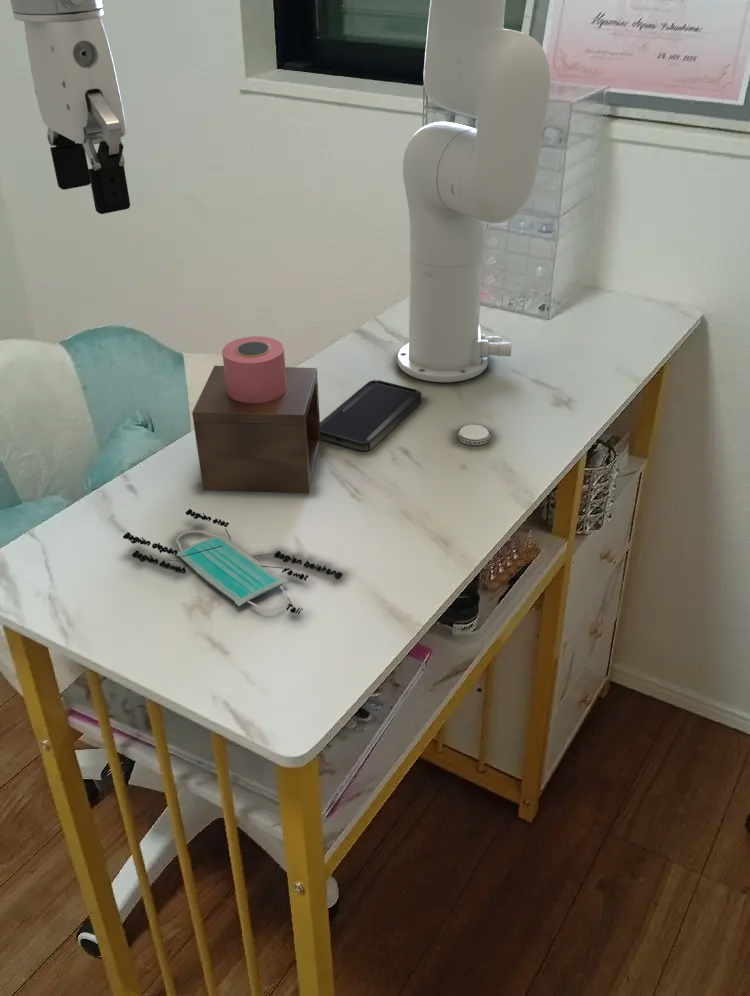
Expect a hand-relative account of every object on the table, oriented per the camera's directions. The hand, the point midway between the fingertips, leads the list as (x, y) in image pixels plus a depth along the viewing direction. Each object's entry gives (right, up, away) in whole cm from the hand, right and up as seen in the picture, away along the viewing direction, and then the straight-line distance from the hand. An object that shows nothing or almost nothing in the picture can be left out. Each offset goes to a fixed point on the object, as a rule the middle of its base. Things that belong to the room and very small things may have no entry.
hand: (93, 198), depth 88 cm
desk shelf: (+14, -25, +18) cm, 34 cm away
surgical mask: (+13, -36, +3) cm, 39 cm away
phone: (+27, -19, +27) cm, 42 cm away
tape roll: (+14, -17, +12) cm, 25 cm away
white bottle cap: (+39, -22, +23) cm, 50 cm away
